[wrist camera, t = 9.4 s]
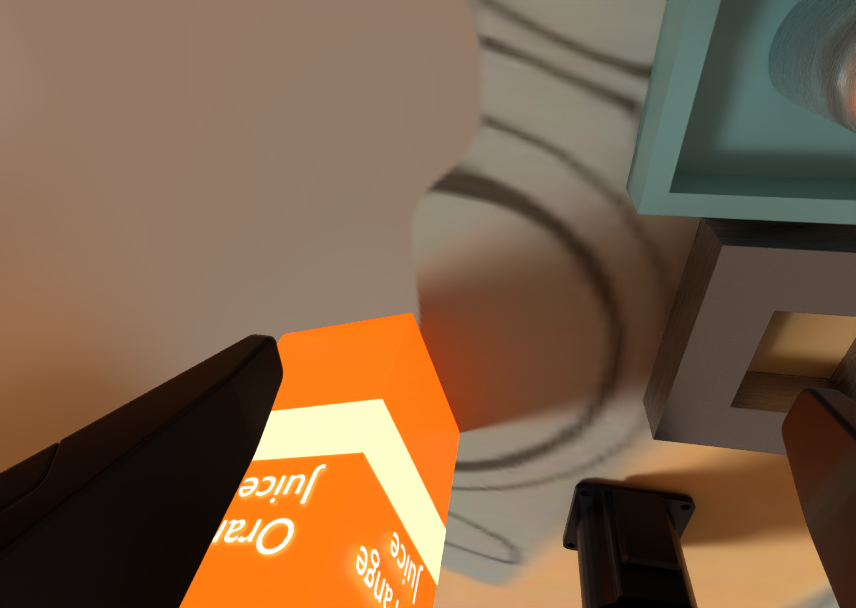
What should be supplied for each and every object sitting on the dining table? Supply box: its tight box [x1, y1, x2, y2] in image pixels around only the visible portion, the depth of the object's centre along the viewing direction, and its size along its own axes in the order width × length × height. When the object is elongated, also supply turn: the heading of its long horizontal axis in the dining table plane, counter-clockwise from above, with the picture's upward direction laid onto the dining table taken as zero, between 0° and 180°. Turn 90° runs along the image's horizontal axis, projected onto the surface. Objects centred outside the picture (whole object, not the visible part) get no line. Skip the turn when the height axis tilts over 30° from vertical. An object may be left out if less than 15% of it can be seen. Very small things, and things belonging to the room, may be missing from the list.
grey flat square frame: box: [643, 217, 856, 455], centre depth 20 cm, size 10×10×2 cm
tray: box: [626, 0, 856, 225], centre depth 14 cm, size 10×10×2 cm
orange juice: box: [179, 313, 460, 608], centre depth 19 cm, size 8×9×20 cm
